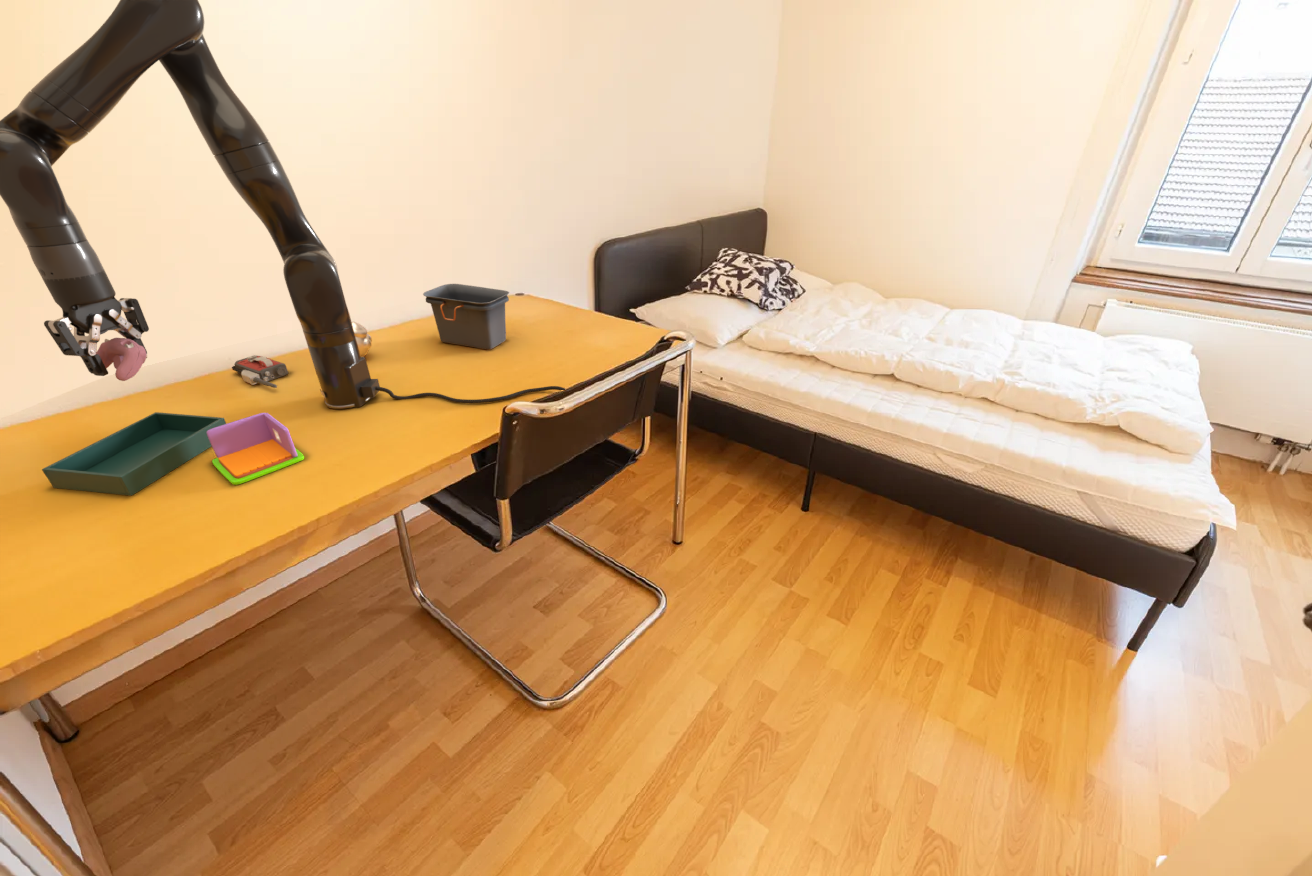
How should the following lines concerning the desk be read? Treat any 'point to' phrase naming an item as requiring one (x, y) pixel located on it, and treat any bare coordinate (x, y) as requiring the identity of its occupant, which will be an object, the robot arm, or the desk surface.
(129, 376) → the video game controller
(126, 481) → the tray
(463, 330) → the storage bin
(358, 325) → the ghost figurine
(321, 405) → the desk surface
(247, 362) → the walkie-talkie
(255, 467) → the dollhouse room
